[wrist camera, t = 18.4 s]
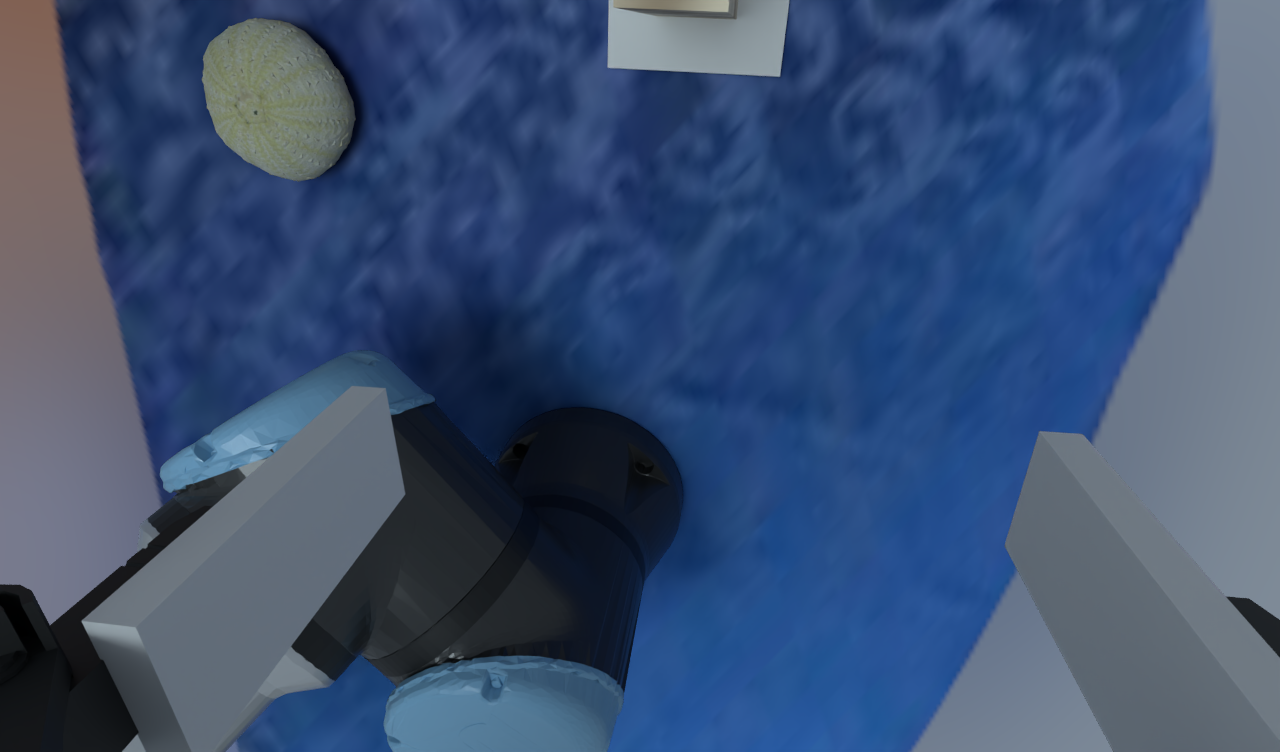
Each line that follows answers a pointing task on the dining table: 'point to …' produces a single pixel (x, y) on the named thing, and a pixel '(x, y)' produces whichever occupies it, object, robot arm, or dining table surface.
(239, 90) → the sea urchin shell
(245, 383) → the dining table surface
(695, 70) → the mat
